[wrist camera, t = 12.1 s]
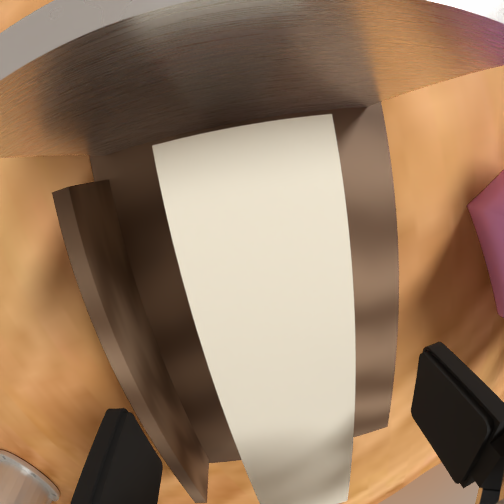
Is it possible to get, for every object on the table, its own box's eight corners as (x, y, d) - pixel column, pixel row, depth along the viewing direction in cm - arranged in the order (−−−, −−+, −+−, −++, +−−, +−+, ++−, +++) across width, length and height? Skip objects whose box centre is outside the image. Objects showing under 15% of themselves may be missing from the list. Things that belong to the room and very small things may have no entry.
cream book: (308, 375, 21) (348, 501, 11) (252, 386, 21) (265, 517, 11) (274, 142, 17) (333, 111, 6) (202, 155, 17) (149, 144, 6)
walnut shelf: (382, 416, 25) (406, 463, 19) (201, 452, 25) (197, 505, 19) (369, 95, 18) (420, 73, 11) (97, 145, 18) (43, 141, 11)
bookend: (367, 106, 16) (565, 53, 3) (104, 155, 16) (-102, 171, 3) (364, 91, 16) (552, 19, 3) (101, 139, 16) (-103, 132, 3)
